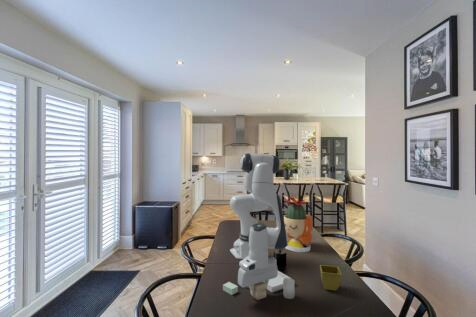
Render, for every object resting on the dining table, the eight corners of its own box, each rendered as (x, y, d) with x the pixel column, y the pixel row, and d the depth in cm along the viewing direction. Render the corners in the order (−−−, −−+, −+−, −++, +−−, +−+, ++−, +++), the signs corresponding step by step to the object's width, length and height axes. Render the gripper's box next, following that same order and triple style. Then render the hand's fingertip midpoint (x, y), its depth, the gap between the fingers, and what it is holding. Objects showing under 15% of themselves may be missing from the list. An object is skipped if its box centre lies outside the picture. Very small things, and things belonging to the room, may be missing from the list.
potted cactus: (298, 255, 162) (299, 201, 162) (275, 245, 181) (276, 196, 181) (320, 248, 174) (321, 198, 174) (297, 240, 193) (297, 194, 193)
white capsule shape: (281, 294, 115) (280, 279, 115) (289, 291, 117) (289, 276, 117) (288, 300, 110) (288, 284, 110) (296, 296, 113) (296, 281, 113)
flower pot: (338, 284, 124) (338, 266, 124) (341, 293, 116) (341, 274, 116) (319, 282, 126) (319, 264, 126) (321, 291, 118) (321, 272, 118)
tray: (254, 280, 128) (254, 275, 128) (275, 273, 136) (275, 269, 136) (271, 292, 116) (271, 287, 116) (294, 284, 124) (294, 279, 124)
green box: (222, 291, 118) (222, 284, 118) (229, 288, 121) (229, 281, 121) (231, 296, 114) (231, 289, 114) (237, 292, 117) (237, 286, 117)
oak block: (250, 294, 114) (250, 281, 114) (259, 291, 117) (259, 279, 117) (257, 300, 110) (257, 286, 110) (266, 297, 113) (266, 283, 113)
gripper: (272, 254, 122) (272, 282, 122) (235, 262, 111) (235, 294, 111) (280, 258, 116) (280, 288, 116) (243, 268, 106) (243, 301, 106)
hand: (258, 291), depth 114 cm, fingers closed on oak block, 5 cm apart
